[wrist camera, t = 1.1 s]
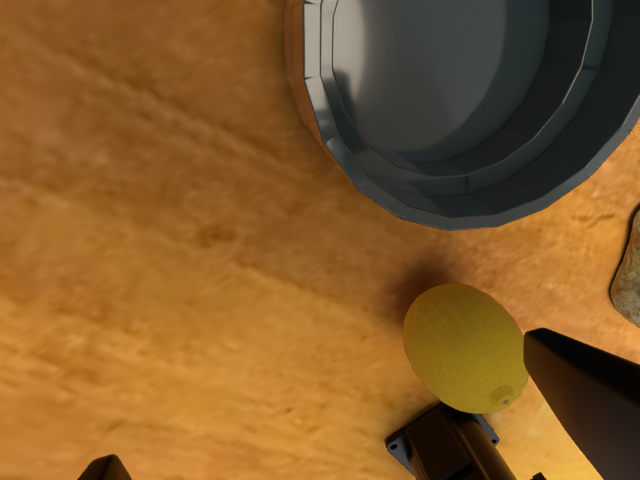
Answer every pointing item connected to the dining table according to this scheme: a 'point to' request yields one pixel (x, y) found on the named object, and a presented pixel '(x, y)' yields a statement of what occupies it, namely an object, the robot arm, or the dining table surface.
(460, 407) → the lemon
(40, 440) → the dining table surface
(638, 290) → the ceramic model
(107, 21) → the dining table surface
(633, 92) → the grey pet bowl
